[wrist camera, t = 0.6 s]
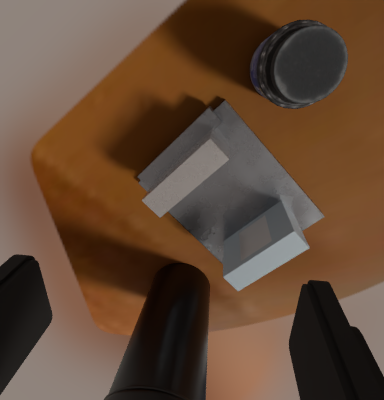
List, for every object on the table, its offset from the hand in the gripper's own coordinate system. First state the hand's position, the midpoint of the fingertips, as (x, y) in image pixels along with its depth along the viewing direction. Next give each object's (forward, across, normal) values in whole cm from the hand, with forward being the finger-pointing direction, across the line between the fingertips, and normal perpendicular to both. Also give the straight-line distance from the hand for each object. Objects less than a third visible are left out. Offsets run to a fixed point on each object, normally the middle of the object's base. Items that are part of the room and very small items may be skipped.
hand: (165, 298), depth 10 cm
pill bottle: (+25, -7, -8) cm, 27 cm away
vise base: (+24, -3, +6) cm, 25 cm away
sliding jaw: (+23, -7, +11) cm, 27 cm away
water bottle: (+25, +3, +22) cm, 33 cm away
